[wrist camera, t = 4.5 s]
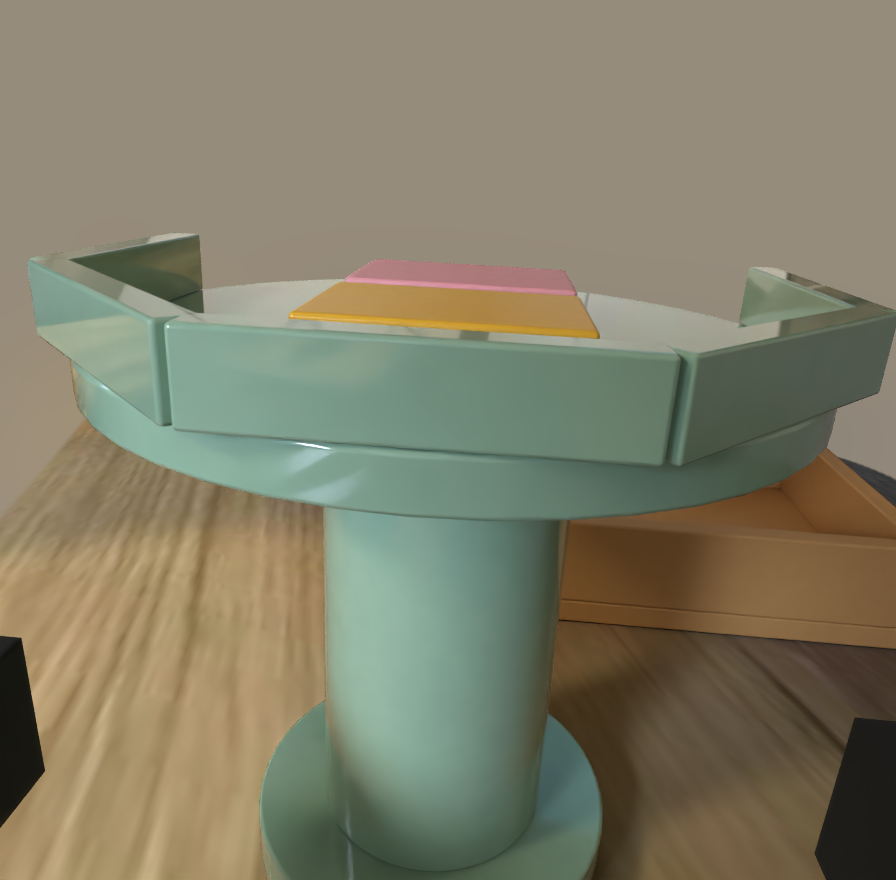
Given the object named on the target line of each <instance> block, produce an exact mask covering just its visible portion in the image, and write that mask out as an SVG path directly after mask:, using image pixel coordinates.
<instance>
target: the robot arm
mask: <svg viewBox="0 0 896 880" xmlns="http://www.w3.org/2000/svg"><path fill="white" fill-rule="evenodd" d="M44 772H45V768H44V763H43V757H42V752H41V746H40V740H39V735H38V729H37V723H36V718H35V712H34V707H33V701H32V695H31V690H30V684H29V678H28V673H27V667H26V662H25V656H24V650H23V645H22V639H21V638H16V637H6V636H0V828H1V826H2V825H3V824H4V823H5V821H6V820H7V819H8V818H9V816H10V815H11V814H12V812H13V811H14V810H15V809H16V807H17V806H18V805H19V804H20V802H21V801H22V800H23V798H24V797H25V796H26V795H27V793H28V792H29V791H30V790H31V788H32V787H33V786H34V784H35V783H36V782H37V781H38V779H39V778H40V777H41V776H42V774H43V773H44ZM815 856H816V858H817V860H818V862H819V865H820V867H821V869H822V872H823V874H824V876H825V878H826V880H896V721H885V720H875V719H864V718H854V722H853V725H852V729H851V732H850V735H849V739H848V742H847V745H846V749H845V752H844V756H843V759H842V762H841V766H840V769H839V773H838V776H837V779H836V783H835V786H834V789H833V793H832V796H831V800H830V803H829V806H828V810H827V813H826V816H825V820H824V823H823V827H822V830H821V833H820V837H819V840H818V844H817V847H816V850H815Z"/></svg>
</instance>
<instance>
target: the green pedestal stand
mask: <svg viewBox="0 0 896 880" xmlns="http://www.w3.org/2000/svg"><path fill="white" fill-rule="evenodd" d="M27 266H28V273H29V280H30V286H31V293H32V300H33V307H34V314H35V321H36V328H37V333H38V335H39V337H41V338H42V339H43V340H45V341H46V342H47V343H49V344H50V345H51V346H53V347H54V348H56V349H57V350H58V351H60V352H61V353H62V354H63V355H65V356H66V357H67V358H69V359H70V365H71V373H72V381H73V387H74V388H73V389H74V394H75V398H76V402H77V406H78V408H79V410H80V412H81V413H82V414H83V416H84V417H85V418H86V419H87V420H88V422H89V423H90V424H91V425H92V427H93V428H94V429H95V430H96V431H98V432H99V433H100V434H102V435H103V436H105V437H106V438H107V439H109V440H110V441H112V442H113V443H114V444H116V445H117V446H119V447H120V448H122V449H124V450H126V451H129V452H131V453H133V454H135V455H137V456H139V457H141V458H143V459H145V460H147V461H149V462H151V463H153V464H155V465H158V466H161V467H164V468H167V469H170V470H173V471H175V472H178V473H181V474H184V475H187V476H190V477H193V478H196V479H199V480H202V481H204V482H208V483H212V484H216V485H220V486H224V487H228V488H232V489H236V490H240V491H244V492H248V493H252V494H256V495H260V496H264V497H270V498H276V499H281V500H287V501H293V502H299V503H304V504H310V505H316V506H322V507H323V561H324V656H325V700H324V701H323V702H321V703H320V704H318V705H317V706H315V707H314V708H312V709H311V710H310V711H309V712H308V713H306V714H305V715H304V716H303V717H302V718H301V719H299V720H298V721H297V722H296V723H295V725H294V726H293V727H292V728H291V729H290V730H289V731H288V732H287V733H286V735H285V736H284V738H283V739H282V740H281V742H280V743H279V745H278V746H277V748H276V750H275V752H274V754H273V756H272V758H271V759H270V761H269V763H268V765H267V769H266V772H265V775H264V778H263V781H262V786H261V792H260V799H259V819H260V839H261V850H262V855H263V861H264V866H265V869H266V872H267V874H268V877H269V880H592V878H593V875H594V871H595V867H596V864H597V858H598V852H599V846H600V839H601V831H602V822H603V810H602V798H601V794H600V789H599V785H598V781H597V778H596V776H595V773H594V771H593V768H592V766H591V763H590V761H589V760H588V758H587V756H586V754H585V753H584V751H583V749H582V748H581V746H580V745H579V744H578V742H577V741H576V740H575V738H574V737H573V736H572V734H571V733H570V732H569V731H568V730H567V729H566V728H565V727H564V726H563V725H562V724H561V723H560V722H559V721H558V720H557V719H556V718H554V717H553V716H552V715H551V714H549V713H548V709H549V700H550V692H551V683H552V675H553V666H554V658H555V649H556V641H557V632H558V624H559V615H560V607H561V598H562V590H563V581H564V573H565V564H566V556H567V547H568V539H569V531H570V522H571V520H581V519H595V518H609V517H623V516H636V515H643V514H650V513H657V512H664V511H671V510H678V509H685V508H692V507H698V506H702V505H706V504H710V503H714V502H719V501H723V500H727V499H731V498H735V497H740V496H744V495H747V494H750V493H753V492H755V491H758V490H761V489H763V488H766V487H769V486H771V485H774V484H777V483H780V482H782V481H784V480H786V479H788V478H789V477H791V476H793V475H794V474H796V473H798V472H800V471H801V470H803V469H805V468H806V467H808V466H809V465H810V464H811V463H812V462H813V461H814V460H815V459H816V458H817V457H818V456H819V455H820V454H821V453H822V452H823V451H824V449H825V448H826V447H827V444H828V441H829V438H830V435H831V432H832V428H833V424H834V420H835V416H836V412H837V408H839V407H842V406H845V405H847V404H850V403H853V402H855V401H858V400H861V399H864V398H866V397H869V396H872V395H874V394H877V393H878V392H879V391H880V387H881V383H882V379H883V375H884V371H885V368H886V364H887V360H888V356H889V352H890V349H891V345H892V341H893V337H894V333H895V329H896V311H895V310H893V309H890V308H887V307H884V306H881V305H879V304H876V303H873V302H870V301H867V300H864V299H861V298H859V297H856V296H853V295H850V294H847V293H845V292H842V291H839V290H836V289H833V288H830V287H828V286H825V285H822V284H819V283H816V282H813V281H811V280H807V279H805V278H802V277H799V276H796V275H793V274H790V273H788V272H785V271H782V270H779V269H776V268H765V267H751V268H749V271H748V276H747V281H746V287H745V292H744V298H743V303H742V309H741V314H740V320H739V321H740V323H741V324H743V325H741V324H737V323H734V322H730V321H727V320H723V319H720V318H716V317H712V316H708V315H703V314H700V313H696V312H691V311H687V310H683V309H678V308H673V307H668V306H663V305H658V304H653V303H647V302H641V301H635V300H630V299H623V298H616V297H610V296H604V295H597V294H589V293H582V292H577V297H579V298H580V299H581V301H582V303H583V305H584V306H585V308H586V310H587V312H588V314H589V315H590V317H591V319H592V321H593V323H594V324H595V326H596V328H597V330H598V332H599V334H600V339H592V338H577V337H561V336H546V335H530V334H515V333H500V332H484V331H469V330H453V329H438V328H423V327H407V326H392V325H376V324H361V323H345V322H330V321H315V320H299V319H288V316H289V313H290V312H291V311H293V310H294V309H296V308H298V307H299V306H301V305H303V304H304V303H306V302H307V301H309V300H311V299H312V298H314V297H315V296H317V295H319V294H320V293H322V292H324V291H325V290H327V289H328V288H330V287H332V286H333V285H335V284H336V283H339V282H345V279H339V280H310V281H309V280H307V281H287V282H274V283H259V284H249V285H239V286H230V287H221V288H214V289H207V290H200V289H202V273H201V257H200V241H199V235H197V234H184V233H173V234H166V235H160V236H155V237H148V238H143V239H137V240H131V241H125V242H119V243H114V244H108V245H102V246H96V247H90V248H85V249H79V250H73V251H67V252H61V253H56V254H50V255H44V256H38V257H32V258H30V260H29V261H28V264H27ZM198 290H199V291H198Z"/></svg>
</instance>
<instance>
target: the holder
mask: <svg viewBox="0 0 896 880" xmlns="http://www.w3.org/2000/svg"><path fill="white" fill-rule="evenodd" d="M559 619H560V620H572V621H583V622H594V623H606V624H617V625H629V626H640V627H651V628H663V629H674V630H686V631H697V632H708V633H720V634H731V635H743V636H754V637H765V638H777V639H788V640H800V641H811V642H822V643H834V644H845V645H857V646H868V647H879V648H891V649H896V507H895V506H893V505H892V504H891V503H890V502H889V501H888V500H886V499H885V498H884V497H883V496H882V495H881V494H879V493H878V492H877V491H876V490H875V489H874V488H873V487H871V486H870V485H869V484H868V483H867V482H866V481H864V480H863V479H862V478H861V477H860V476H859V475H858V474H856V473H855V472H854V471H853V470H852V469H851V468H849V467H848V466H847V465H846V464H845V463H844V462H842V461H841V460H840V459H839V458H838V457H837V456H836V455H834V454H833V453H832V452H831V451H830V450H829V449H827V448H825V449H824V451H823V452H822V453H821V454H820V455H819V456H818V457H817V458H816V459H815V460H814V461H813V462H812V463H811V464H810V465H809V466H808V467H806V468H805V469H803V470H801V471H800V472H798V473H796V474H794V475H793V476H791V477H789V478H788V479H786V480H784V481H782V482H780V483H777V484H774V485H771V486H769V487H766V488H763V489H761V490H758V491H755V492H753V493H750V494H747V495H744V496H740V497H735V498H731V499H727V500H723V501H719V502H714V503H710V504H706V505H702V506H698V507H692V508H685V509H678V510H671V511H664V512H657V513H650V514H643V515H636V516H623V517H609V518H595V519H581V520H571V522H570V531H569V539H568V547H567V556H566V564H565V573H564V581H563V590H562V598H561V607H560V615H559Z"/></svg>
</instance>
